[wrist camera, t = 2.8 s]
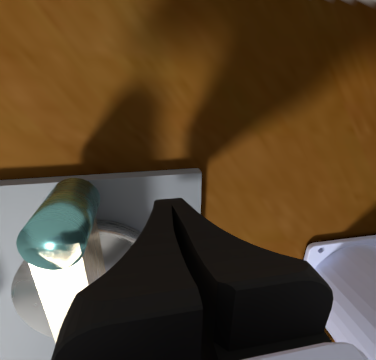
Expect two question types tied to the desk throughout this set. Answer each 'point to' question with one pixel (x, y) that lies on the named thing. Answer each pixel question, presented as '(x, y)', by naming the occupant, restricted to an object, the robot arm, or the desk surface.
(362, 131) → the desk surface
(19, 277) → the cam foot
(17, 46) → the desk surface
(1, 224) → the stand board
